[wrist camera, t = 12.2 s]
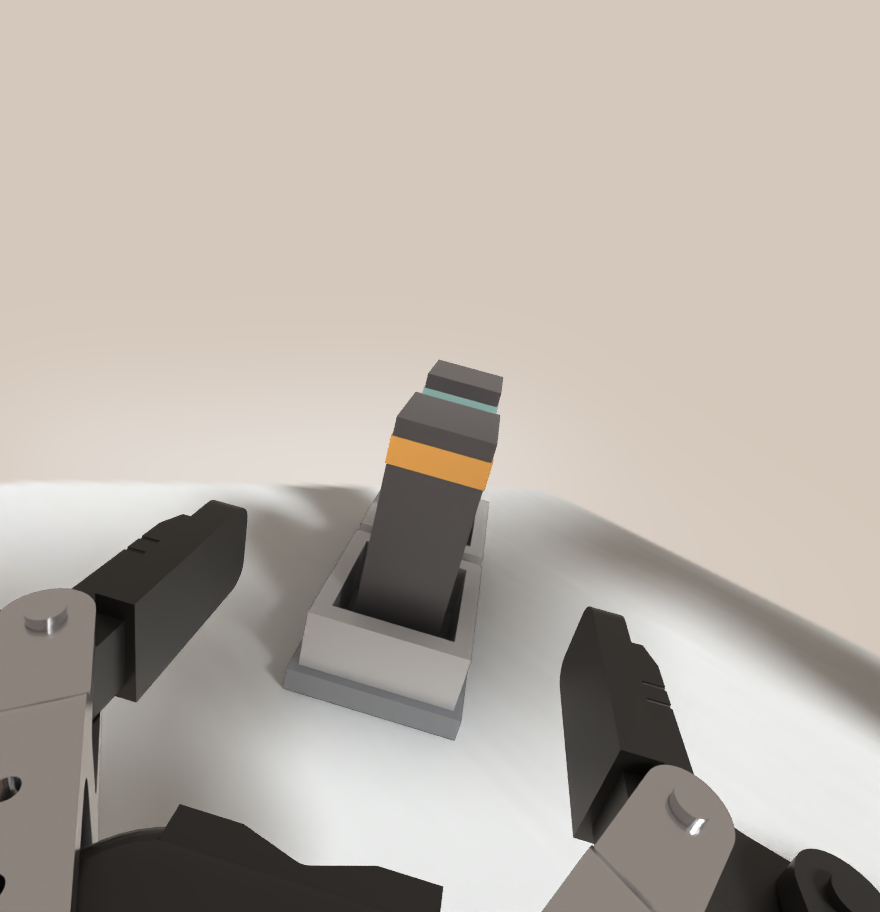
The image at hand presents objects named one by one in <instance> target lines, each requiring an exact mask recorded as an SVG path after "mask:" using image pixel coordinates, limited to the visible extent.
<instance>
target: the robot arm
mask: <svg viewBox="0 0 880 912" xmlns="http://www.w3.org/2000/svg"><path fill="white" fill-rule="evenodd" d="M246 528H247V511H246V509H244V508H241V507H237V506H234V505H230V504H227V503H223V502H219V501H216V500H211V501H209V502H208V503H207V504H205V505H204V506H203V507H202V508H200V509H199V510H198V511H197V512H195V513H194V514H193V515H192V516H188V515H184V514H182V515H179V516H177V517H174V518H171V519H169V520H166V521H163V522H161V523H159V524H157V525H156V526H155V527H153V528H152V529H151V530H149V531H148V532H147V533H145V534H144V535H143V536H142V538H141V539H137V540H136V541H135V542H133V543H132V544H131V545H129V546H128V548H127V550H125V549H124V550H123V551H121V552H120V553H119V554H117V555H116V556H115V557H113V558H112V559H111V560H109V561H108V562H107V563H105V564H104V565H103V566H101V567H100V568H99V569H97V570H96V571H95V572H93V573H92V574H91V575H89V576H88V577H87V578H85V579H84V580H83V581H81V582H80V583H79V584H77V585H76V586H75V587H73V588H72V589H60V588H59V589H49V590H42V591H38V592H34V593H31V594H28V595H26V596H23V597H21V598H19V599H17V600H15V601H13V602H11V603H10V604H8V605H7V606H6V607H4V608H3V609H2V610H0V912H440V909H441V901H442V892H443V886H440V885H436V884H433V883H430V882H427V881H424V880H420V879H417V878H414V877H411V876H408V875H404V874H401V873H398V872H395V871H392V870H388V869H385V868H382V867H379V866H308V865H303V864H300V863H298V862H297V861H295V860H294V859H292V858H291V857H289V856H288V855H287V854H285V853H284V852H282V851H281V850H279V849H278V848H277V847H275V846H274V845H272V844H271V843H269V842H268V841H267V840H265V839H264V838H262V837H261V836H260V835H258V834H257V833H255V832H254V831H252V830H251V829H250V828H248V827H247V826H245V825H244V824H242V823H238V822H235V821H232V820H229V819H226V818H222V817H219V816H216V815H213V814H210V813H206V812H203V811H200V810H197V809H194V808H190V807H187V806H184V805H181V804H180V805H179V806H178V808H177V810H176V811H175V813H174V815H173V816H172V818H171V819H170V821H169V823H168V824H167V826H166V827H154V828H146V829H138V830H134V831H130V832H125V833H121V834H118V835H115V836H112V837H109V838H106V839H103V840H101V841H98V799H99V775H100V752H101V729H102V709H103V708H104V707H105V706H106V705H107V704H108V703H109V701H110V700H111V699H112V698H113V697H114V696H117V697H120V698H124V699H127V700H130V701H134V702H137V701H138V700H139V699H140V697H141V696H142V695H143V694H144V693H145V692H146V690H147V689H148V688H149V687H150V686H151V685H152V683H153V682H154V681H155V680H156V679H157V678H158V676H159V675H160V674H161V673H162V672H163V671H164V669H165V668H166V667H167V666H168V665H169V664H170V662H171V661H172V660H173V659H174V658H175V656H176V655H177V654H178V653H179V652H180V651H181V649H182V648H183V647H184V646H185V645H186V644H187V642H188V641H189V640H190V639H191V638H192V637H193V635H194V634H195V633H196V632H197V631H198V630H199V628H200V627H201V626H202V625H203V624H204V623H205V621H206V620H207V619H208V618H209V617H210V615H211V614H212V613H213V612H214V611H215V610H216V608H217V607H218V606H219V605H220V604H221V603H222V601H223V600H224V599H225V598H226V597H227V596H228V594H229V593H230V592H231V591H232V590H233V588H234V587H235V585H236V583H237V581H238V579H239V577H240V574H241V571H242V568H243V562H244V551H245V539H246ZM664 689H665V686H664V683H663V679H662V676H661V673H660V670H659V667H658V665H657V664H656V663H655V661H654V660H653V659H652V657H651V656H650V655H649V653H648V652H647V651H646V649H645V648H644V647H643V646H642V645H639V644H635V643H632V642H631V640H630V636H629V633H628V629H627V626H626V622H625V619H624V617H623V616H621V615H618V614H614V613H611V612H607V611H604V610H600V609H596V608H593V607H587V608H586V609H585V611H584V613H583V615H582V617H581V620H580V622H579V624H578V627H577V629H576V631H575V634H574V636H573V638H572V641H571V643H570V645H569V648H568V650H567V652H566V655H565V657H564V660H563V664H562V668H561V674H560V694H561V705H562V716H563V727H564V738H565V750H566V761H567V772H568V783H569V795H570V806H571V817H572V828H573V837H574V838H577V839H580V840H583V841H587V842H590V843H593V844H594V847H593V846H591V847H590V848H589V849H588V850H587V851H586V853H585V854H584V855H583V856H582V858H581V859H580V860H579V862H578V863H577V865H576V866H575V867H574V869H573V870H572V871H571V873H570V874H569V875H568V877H567V878H566V880H565V881H564V882H563V884H562V885H561V886H560V888H559V889H558V890H557V892H556V893H555V894H554V896H553V897H552V899H551V900H550V901H549V903H548V904H547V905H546V907H545V908H544V909H543V911H542V912H880V893H879V891H878V890H877V889H876V888H875V887H874V886H873V885H872V884H871V883H870V882H869V881H868V880H867V879H866V878H865V877H864V876H863V875H862V874H860V873H859V872H858V871H857V870H855V869H854V868H853V867H852V866H850V865H849V864H847V863H846V862H844V861H843V860H841V859H840V858H838V857H836V856H834V855H832V854H830V853H827V852H825V851H822V850H818V849H805V850H803V851H801V852H799V853H798V855H797V856H796V857H795V858H794V859H793V861H792V862H790V861H788V860H786V859H785V858H783V857H781V856H779V855H778V854H776V853H774V852H773V851H771V850H769V849H768V848H766V847H764V846H763V845H761V844H759V843H758V842H756V841H754V840H753V839H751V838H749V837H748V836H746V835H744V834H743V833H741V832H740V831H738V830H737V829H736V828H734V824H733V821H732V818H731V816H730V814H729V812H728V810H727V808H726V807H725V805H724V804H723V802H722V801H721V800H720V798H719V797H718V796H717V794H716V793H715V792H714V791H713V790H712V789H711V788H710V787H709V786H708V785H707V784H706V783H704V782H703V781H702V780H701V779H699V778H698V777H697V776H695V775H694V773H693V770H692V767H691V764H690V761H689V758H688V755H687V752H686V749H685V746H684V743H683V740H682V737H681V734H680V731H679V728H678V725H677V722H676V719H675V716H674V713H673V710H672V709H670V705H671V704H670V701H669V698H668V695H667V692H666V691H665V690H664Z"/></svg>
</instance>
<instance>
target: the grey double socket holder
mask: <svg viewBox="0 0 880 912" xmlns="http://www.w3.org/2000/svg"><path fill="white" fill-rule="evenodd" d="M380 491H381V490H380ZM380 491H379V493H378V495H377V497H376V498H375V500H374V502H373V503H372V505H371V507H370V508H369V510H368V512H367V513H366V515H365V517H364V518H363V520H362V522H361V525H360V530H356V532H355V534H354V535H353V537H352V539H351V540H350V542H349V544H348V545H347V547H346V549H345V550H344V552H343V554H342V555H341V557H340V559H339V560H338V562H337V564H336V565H335V567H334V569H333V571H332V572H331V574H330V576H329V577H328V579H327V581H326V582H325V584H324V586H323V587H322V589H321V591H320V592H319V594H318V596H317V597H316V599H315V601H314V602H313V604H312V606H311V608H310V609H309V611H308V614H307V619H306V625H305V631H304V636H303V640H302V642H301V643H300V645H299V647H298V649H297V650H296V652H295V654H294V656H293V657H292V659H291V661H290V663H289V665H288V666H287V668H286V673H285V679H284V685H283V688H285V689H288V690H291V691H294V692H298V693H301V694H304V695H307V696H311V697H314V698H317V699H321V700H324V701H327V702H330V703H334V704H337V705H340V706H343V707H347V708H350V709H353V710H357V711H360V712H363V713H366V714H370V715H373V716H376V717H379V718H383V719H386V720H389V721H393V722H396V723H399V724H402V725H406V726H409V727H412V728H416V729H419V730H422V731H425V732H429V733H432V734H435V735H438V736H442V737H445V738H448V739H452V740H455V738H456V735H457V732H458V729H459V726H460V724H461V720H462V712H463V703H464V695H465V687H466V678H467V671H468V668H469V665H470V662H471V657H472V648H473V640H474V631H475V622H476V614H477V605H478V596H479V588H480V579H481V570H482V566H481V562H482V559H483V553H484V544H485V535H486V527H487V518H488V509H489V502H487V501H484V500H480V502H479V505H478V508H477V512H476V515H475V518H474V521H473V525H472V528H471V531H470V534H469V538H468V541H467V544H466V547H465V551H464V554H463V557H462V560H461V564H460V567H459V570H458V573H457V577H456V580H455V583H454V586H453V589H452V593H451V596H450V599H449V602H448V606H447V609H446V612H445V615H444V619H443V622H442V625H441V628H440V632H439V635H438V637H436V636H432V635H429V634H426V633H422V632H419V631H416V630H412V629H409V628H406V627H402V626H399V625H395V624H392V623H389V622H385V621H382V620H379V619H375V618H372V617H369V616H365V615H362V614H358V613H355V612H354V608H355V604H356V599H357V595H358V590H359V586H360V581H361V577H362V572H363V568H364V563H365V559H366V554H367V550H368V545H369V540H370V536H371V531H372V527H373V522H374V518H375V513H376V509H377V504H378V500H379V495H380Z"/></svg>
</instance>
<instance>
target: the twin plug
mask: <svg viewBox="0 0 880 912" xmlns="http://www.w3.org/2000/svg"><path fill="white" fill-rule="evenodd" d="M502 382H503V377H500V376H497V375H493V374H489V373H486V372H482V371H478V370H475V369H471V368H467V367H464V366H460V365H457V364H453V363H449V362H446V361H442V360H438V362H437V363H436V364H435V366H434V367H433V368H432V369H431V371H430V372H429V373H428V377H427V381H426V385H425V387H424V389H423V394H425V395H429V396H433V397H436V398H440V399H444V400H447V401H451V402H454V403H458V404H462V405H465V406H469V407H472V408H476V409H480V410H483V411H487V412H490V413H494V414H496V413H497V409H498V403H499V399H500V396H501V390H502Z"/></svg>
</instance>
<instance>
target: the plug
mask: <svg viewBox="0 0 880 912" xmlns="http://www.w3.org/2000/svg"><path fill="white" fill-rule="evenodd" d="M499 422H500V415H498V414H494V413H490V412H487V411H483V410H480V409H476V408H472V407H469V406H465V405H462V404H458V403H454V402H451V401H447V400H444V399H440V398H436V397H433V396H429V395H425V394H422V393H418V392H415V393H414V395H413V397H411V399H410V400H409V401H408V403H407V404H406V405H405V407H404V408H403V409H402V411H401V412H400V413H399V414H398V416H397V418H396V423H395V428H394V432H393V434H392V435H391V439H390V443H389V448H388V452H387V457H386V462H385V463H387V464H386V468H385V473H384V477H383V482H382V486H381V491H380V495H379V500H378V504H377V509H376V513H375V518H374V522H373V527H372V531H371V536H370V540H369V545H368V550H367V554H366V559H365V563H364V568H363V572H362V577H361V581H360V586H359V590H358V595H357V599H356V604H355V608H354V612H355V613H358V614H362V615H365V616H369V617H372V618H375V619H379V620H382V621H385V622H389V623H392V624H395V625H399V626H402V627H406V628H409V629H412V630H416V631H419V632H422V633H426V634H429V635H432V636H436V637H438V635H439V632H440V628H441V625H442V622H443V619H444V615H445V612H446V609H447V606H448V602H449V599H450V596H451V593H452V589H453V586H454V583H455V580H456V577H457V573H458V570H459V567H460V564H461V560H462V557H463V554H464V551H465V547H466V544H467V541H468V538H469V534H470V531H471V528H472V525H473V521H474V518H475V515H476V512H477V508H478V505H479V502H480V499H481V495H482V492H483V491H484V490H485V487H486V484H487V481H488V477H489V474H490V471H491V467H492V464H493V456H494V453H495V450H496V447H497V441H498V431H499Z"/></svg>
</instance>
